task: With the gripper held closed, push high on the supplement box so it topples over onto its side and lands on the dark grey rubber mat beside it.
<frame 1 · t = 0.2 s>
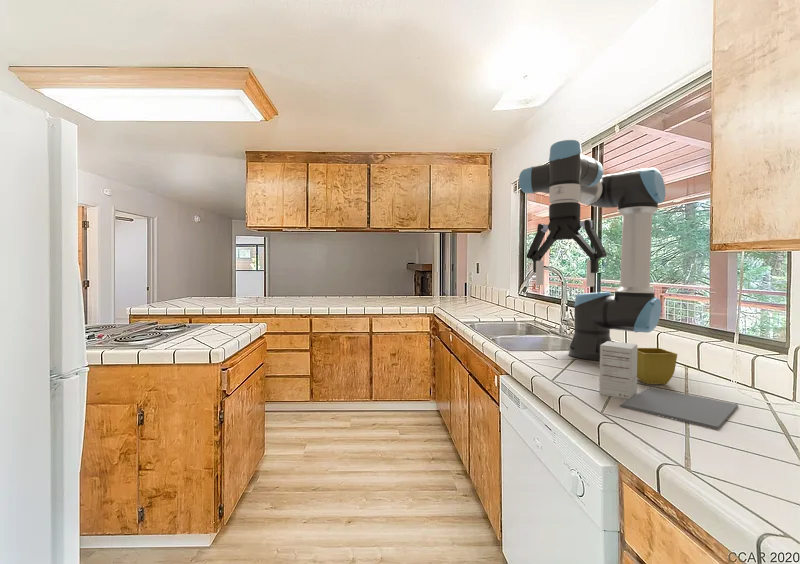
hand: (563, 285, 106), 27 cm above the countertop, fingers open, 13 cm apart
mat: (679, 406, 94), on the countertop
supplement box: (617, 394, 104), on the countertop
flower pot: (651, 383, 114), on the countertop
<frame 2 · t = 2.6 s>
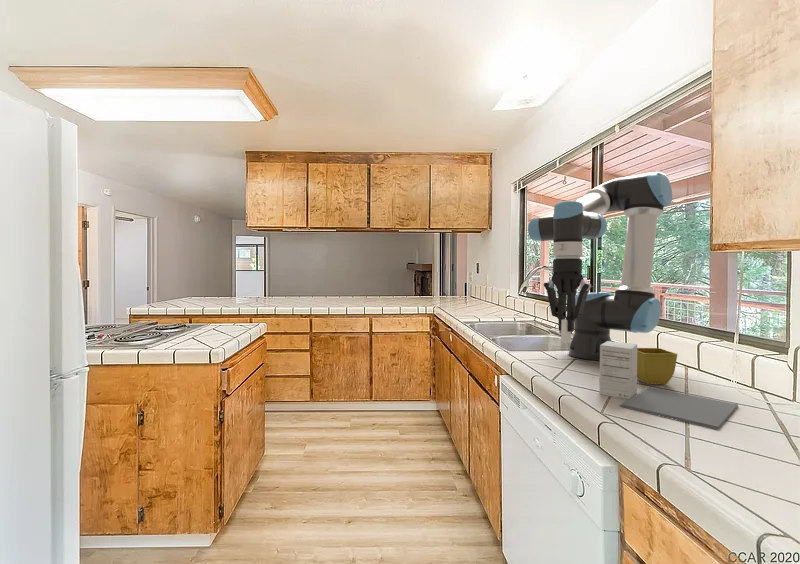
hand: (565, 342, 114), 11 cm above the countertop, fingers closed
nothing on the countertop moved.
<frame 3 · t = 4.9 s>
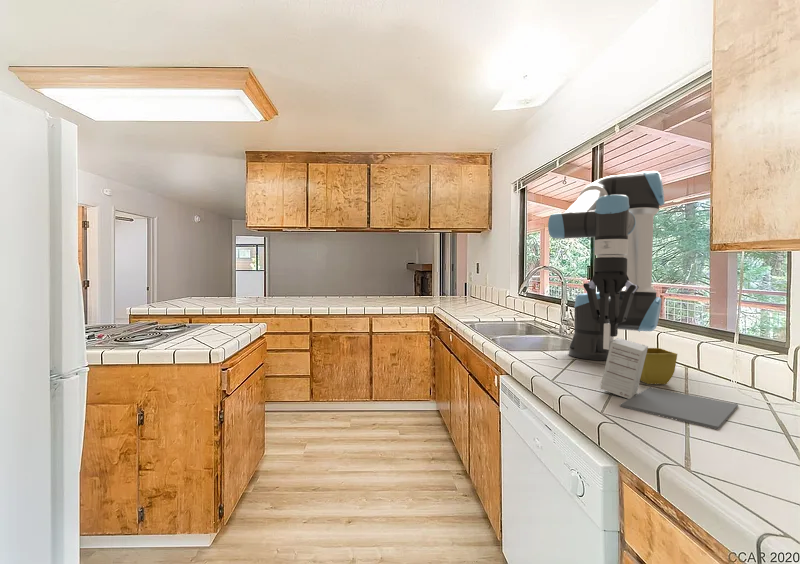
hand: (608, 348, 105), 11 cm above the countertop, fingers closed
supplement box: (618, 391, 104), on the countertop, touching gripper
everything else where it was.
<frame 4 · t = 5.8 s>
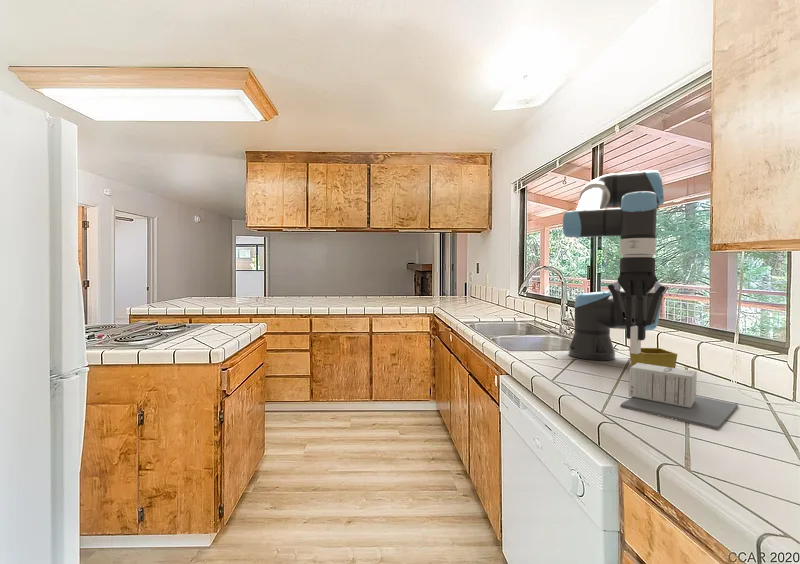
hand: (635, 352, 100), 11 cm above the countertop, fingers closed
supplement box: (631, 378, 102), point 4 cm above the countertop, touching mat
everything else where it was.
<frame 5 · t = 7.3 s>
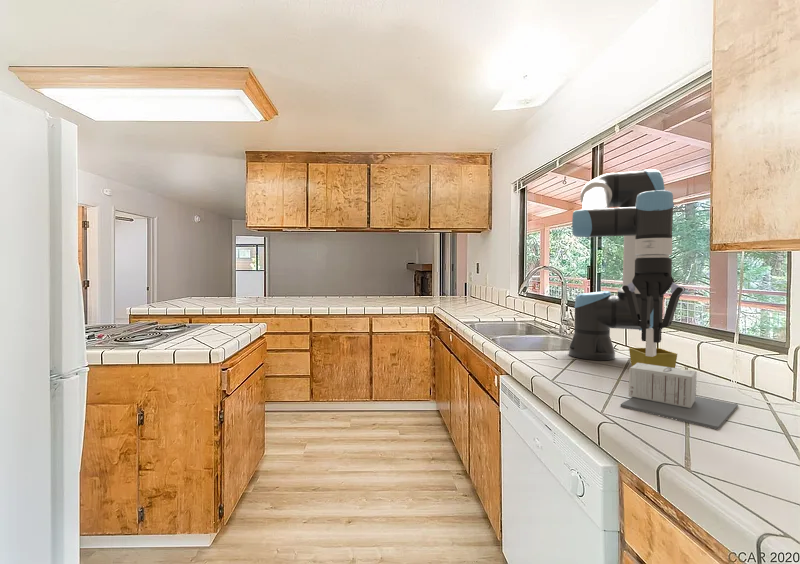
hand: (650, 355, 98), 11 cm above the countertop, fingers closed
nothing on the countertop moved.
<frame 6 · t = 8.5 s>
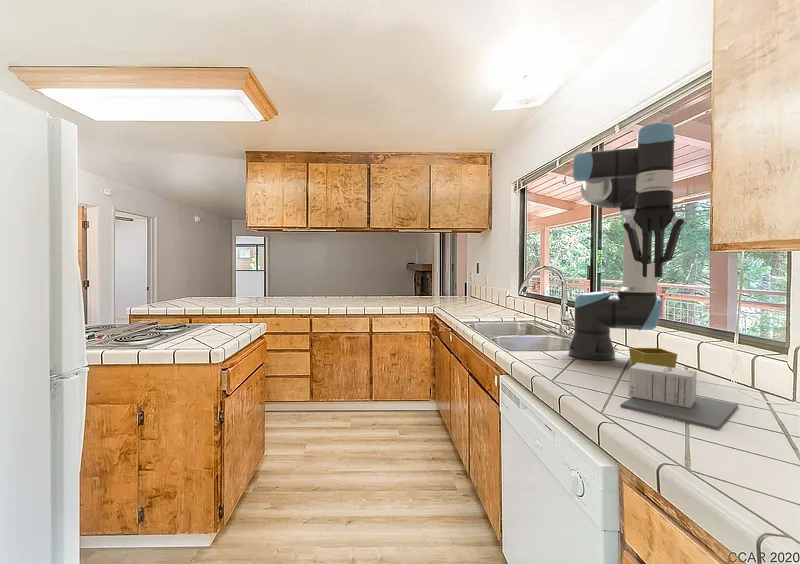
hand: (651, 291, 98), 26 cm above the countertop, fingers closed
nothing on the countertop moved.
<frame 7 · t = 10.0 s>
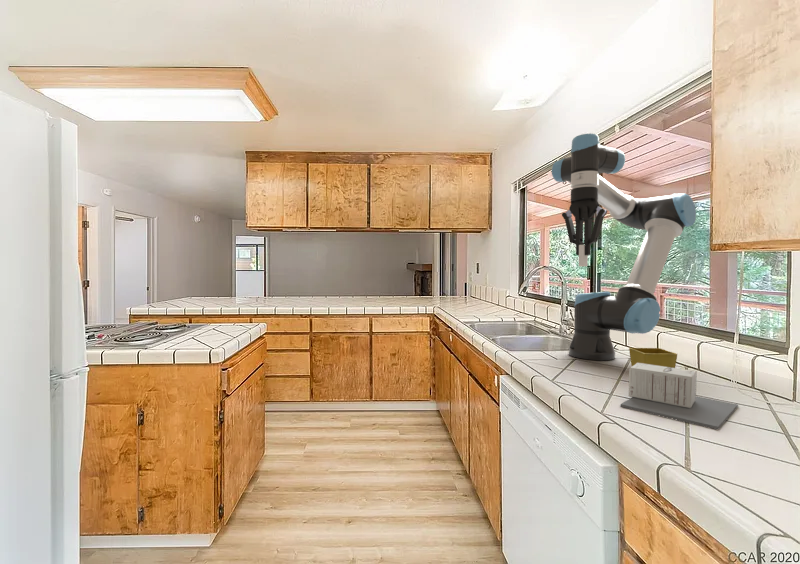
hand: (583, 266, 124), 32 cm above the countertop, fingers closed
nothing on the countertop moved.
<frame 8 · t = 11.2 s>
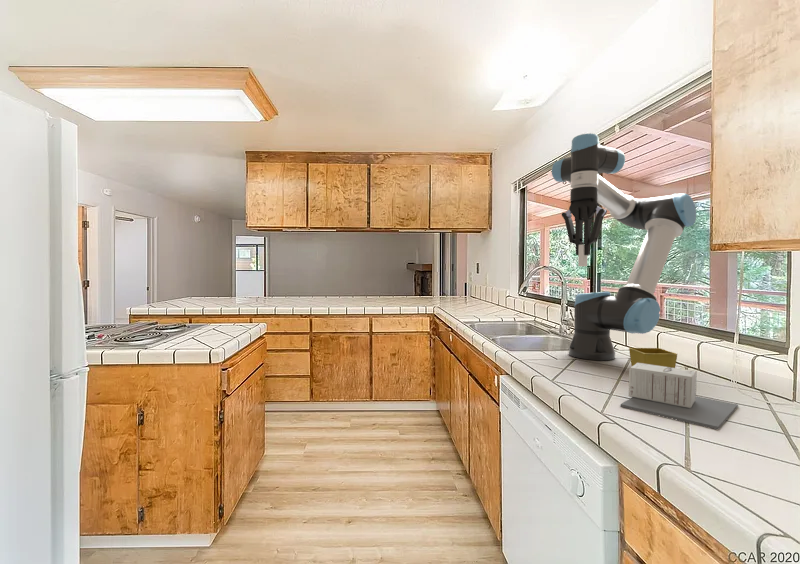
hand: (582, 266, 124), 32 cm above the countertop, fingers closed
nothing on the countertop moved.
at the end: supplement box tilted 90°; supplement box touching mat; the gripper is holding nothing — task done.
